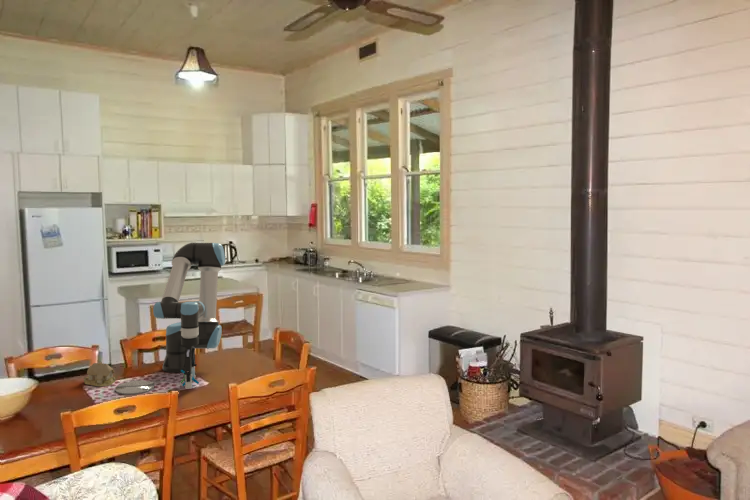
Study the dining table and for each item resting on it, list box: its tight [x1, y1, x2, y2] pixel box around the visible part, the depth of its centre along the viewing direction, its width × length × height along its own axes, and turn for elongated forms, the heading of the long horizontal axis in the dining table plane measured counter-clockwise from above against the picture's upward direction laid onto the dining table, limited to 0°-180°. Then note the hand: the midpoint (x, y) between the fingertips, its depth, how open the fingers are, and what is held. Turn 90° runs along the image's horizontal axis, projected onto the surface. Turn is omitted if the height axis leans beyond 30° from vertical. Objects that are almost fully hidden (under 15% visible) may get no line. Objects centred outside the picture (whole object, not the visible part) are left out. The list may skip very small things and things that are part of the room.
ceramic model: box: [83, 361, 116, 387], centre depth 258 cm, size 14×11×10 cm
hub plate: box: [115, 380, 155, 396], centre depth 251 cm, size 16×16×1 cm
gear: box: [180, 370, 200, 387], centre depth 253 cm, size 11×6×10 cm
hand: (190, 384), depth 254 cm, fingers closed on gear, 9 cm apart
